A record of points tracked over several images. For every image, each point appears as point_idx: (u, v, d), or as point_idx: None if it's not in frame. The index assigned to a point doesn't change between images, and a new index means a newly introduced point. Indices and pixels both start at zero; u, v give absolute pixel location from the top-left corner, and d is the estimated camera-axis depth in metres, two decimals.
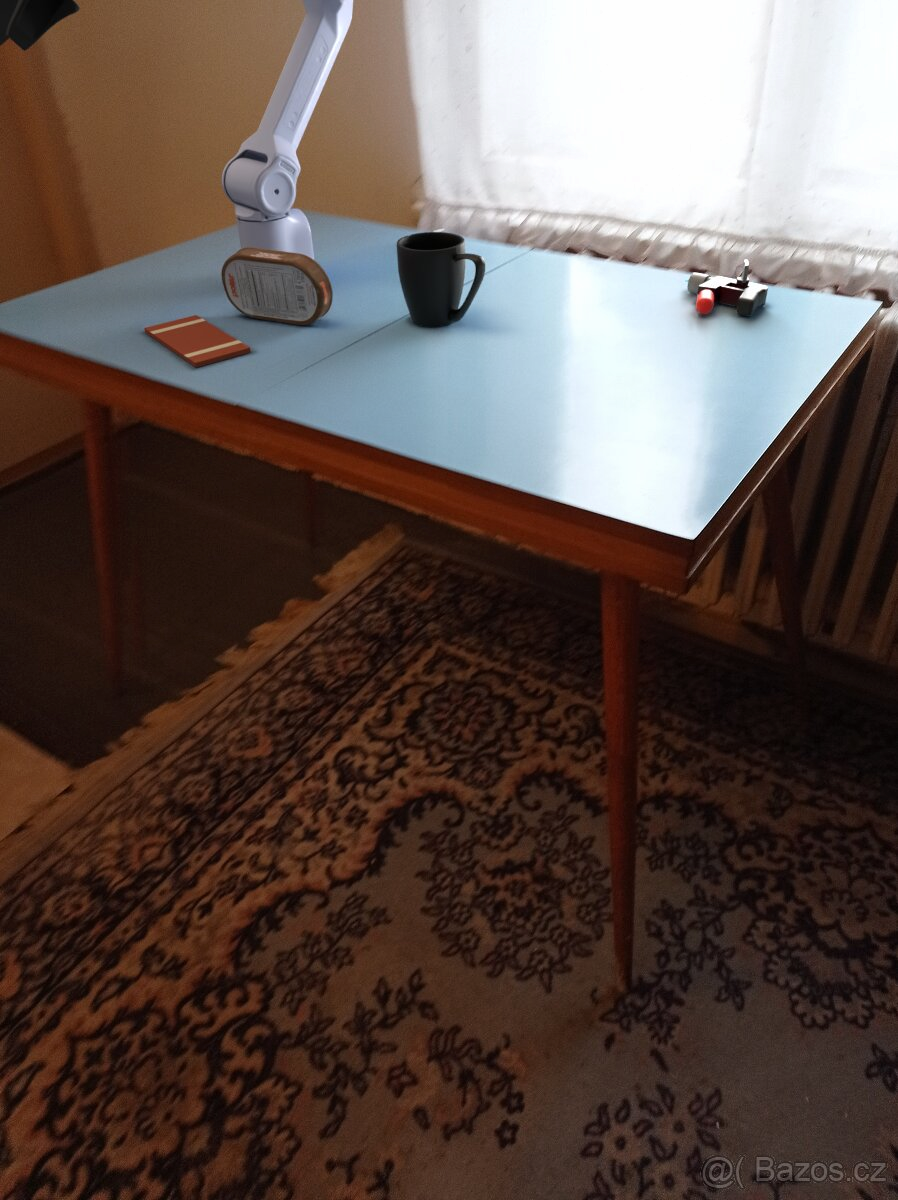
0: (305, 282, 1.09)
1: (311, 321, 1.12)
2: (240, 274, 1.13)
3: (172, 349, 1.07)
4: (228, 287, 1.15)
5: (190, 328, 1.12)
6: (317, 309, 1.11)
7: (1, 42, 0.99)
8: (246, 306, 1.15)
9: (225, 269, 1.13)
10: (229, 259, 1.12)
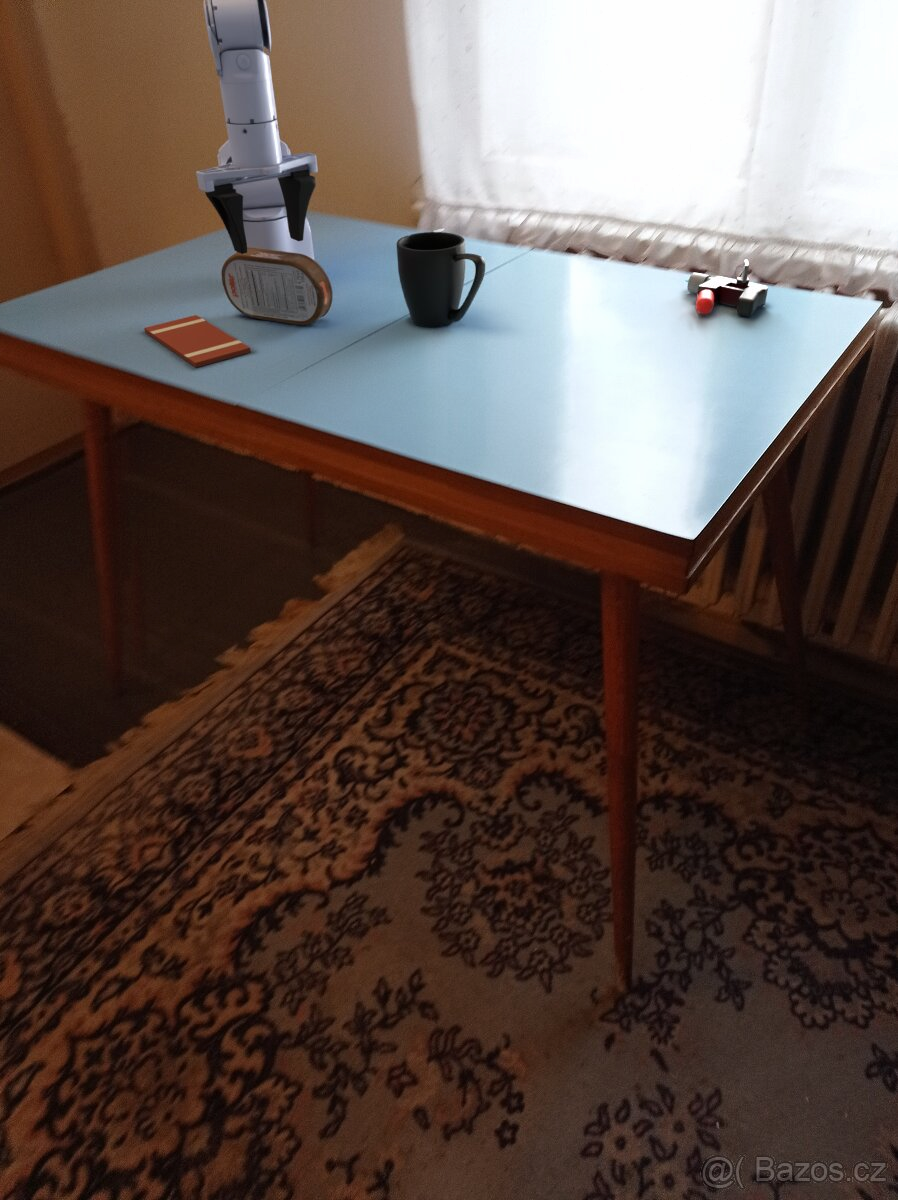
0: (305, 282, 1.09)
1: (311, 321, 1.12)
2: (240, 274, 1.12)
3: (172, 349, 1.07)
4: (228, 287, 1.15)
5: (190, 328, 1.12)
6: (317, 309, 1.11)
7: None
8: (246, 306, 1.15)
9: (225, 269, 1.13)
10: (229, 259, 1.12)
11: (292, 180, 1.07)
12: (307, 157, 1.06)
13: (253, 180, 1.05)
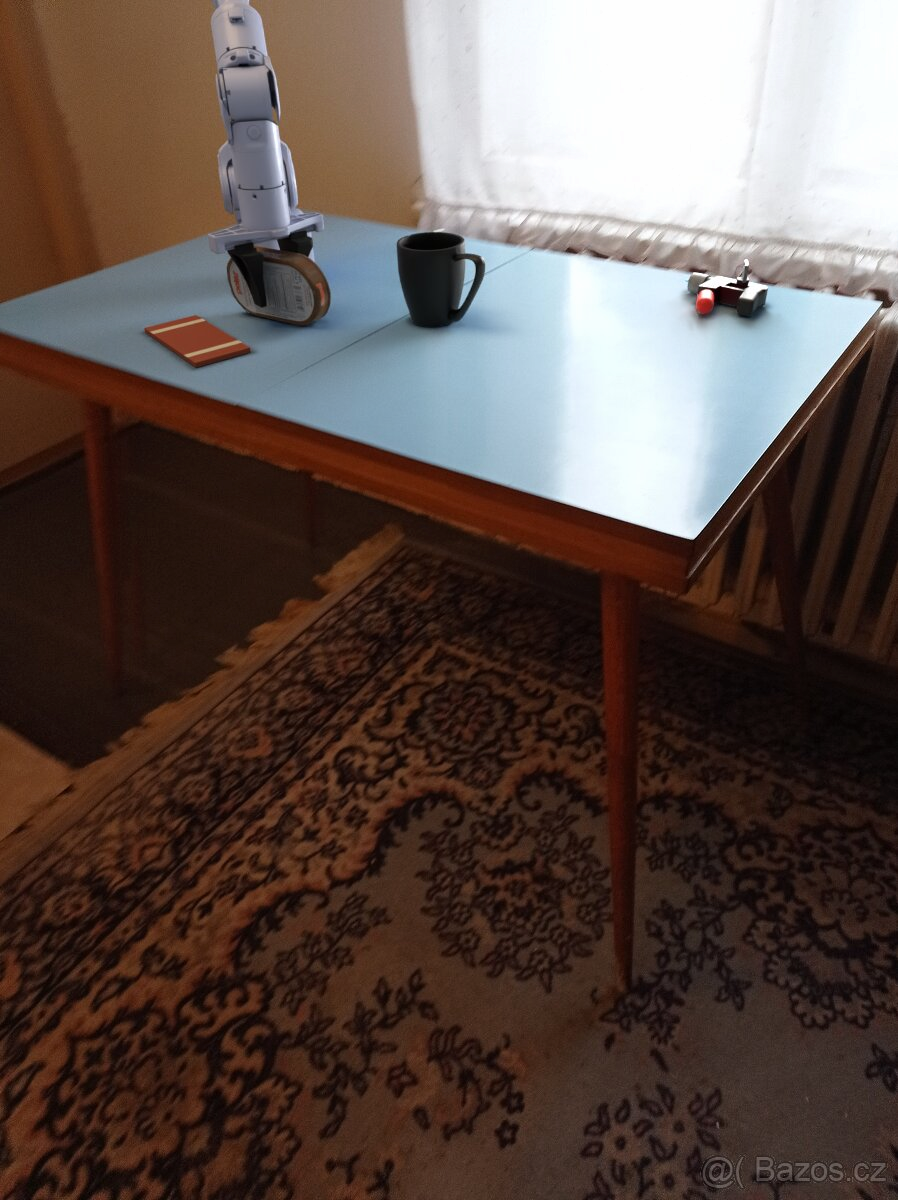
0: (302, 282, 1.09)
1: (308, 322, 1.12)
2: None
3: (172, 349, 1.07)
4: (233, 284, 1.15)
5: (190, 328, 1.12)
6: (313, 310, 1.11)
7: None
8: (249, 304, 1.16)
9: (230, 267, 1.14)
10: None
11: (290, 241, 1.10)
12: (314, 217, 1.11)
13: (262, 240, 1.09)
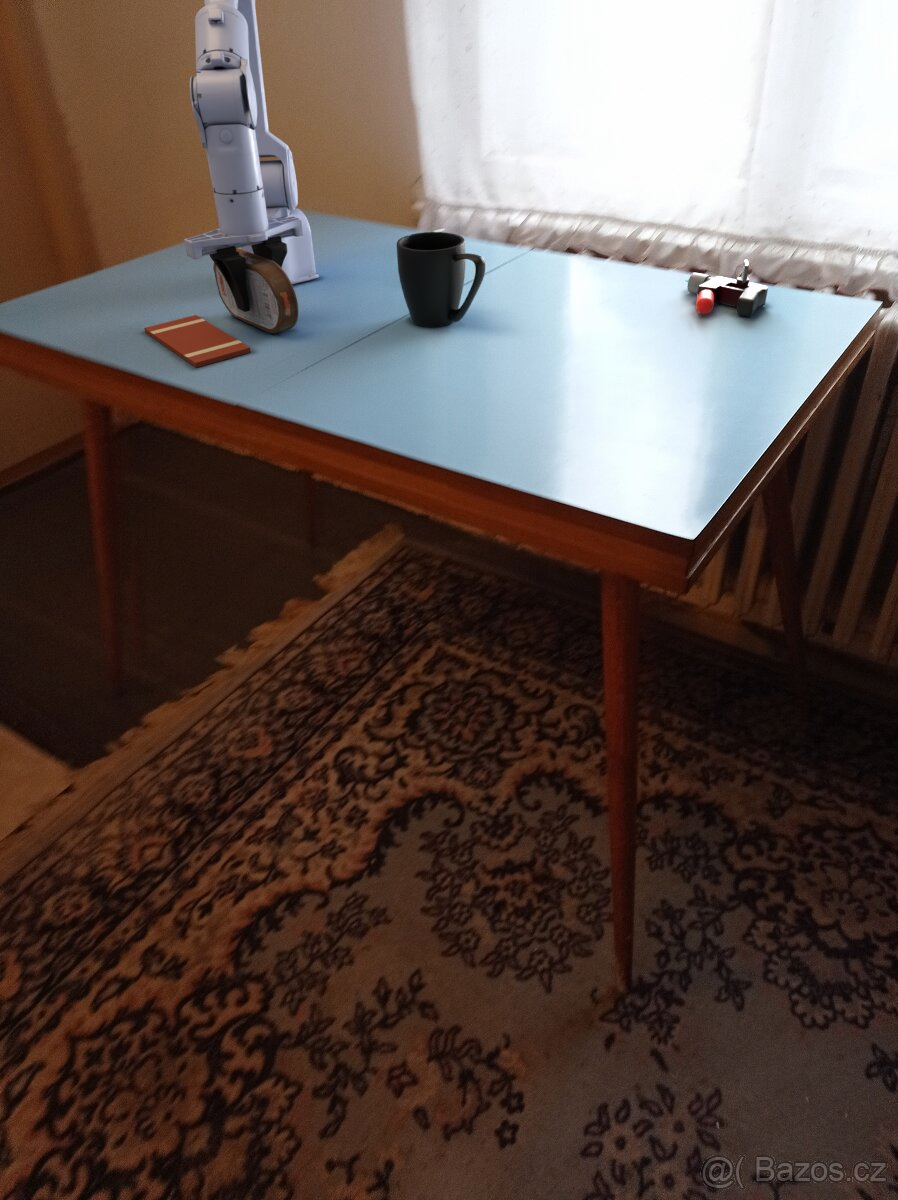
0: (268, 290, 1.07)
1: (275, 330, 1.10)
2: None
3: (172, 349, 1.07)
4: (219, 285, 1.15)
5: (190, 328, 1.12)
6: (278, 319, 1.08)
7: None
8: (232, 306, 1.15)
9: (215, 267, 1.14)
10: None
11: (264, 247, 1.09)
12: (293, 222, 1.09)
13: (240, 245, 1.07)
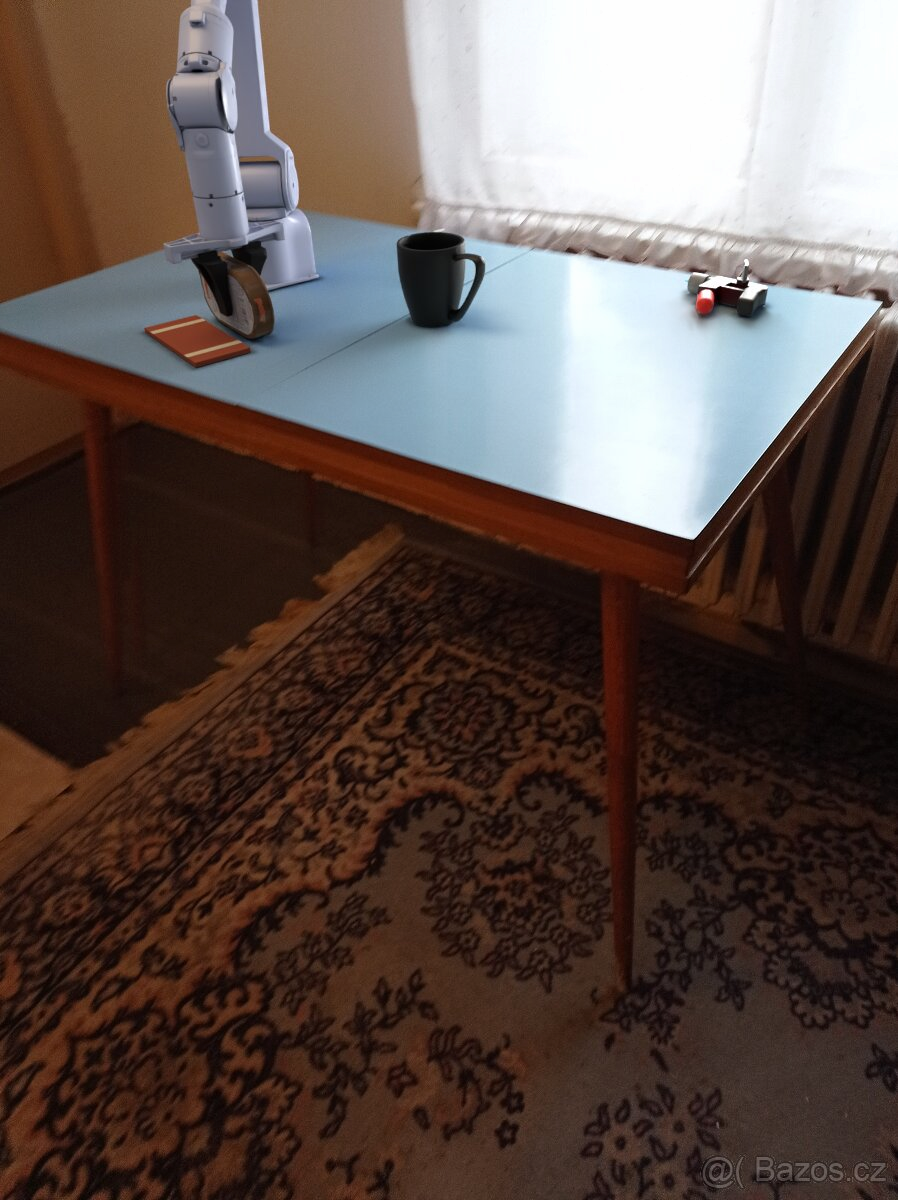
0: (244, 296, 1.06)
1: (252, 336, 1.09)
2: None
3: (172, 349, 1.07)
4: (204, 288, 1.14)
5: (190, 328, 1.12)
6: (253, 325, 1.07)
7: None
8: (216, 309, 1.14)
9: None
10: None
11: (243, 252, 1.07)
12: (274, 226, 1.08)
13: (220, 250, 1.06)
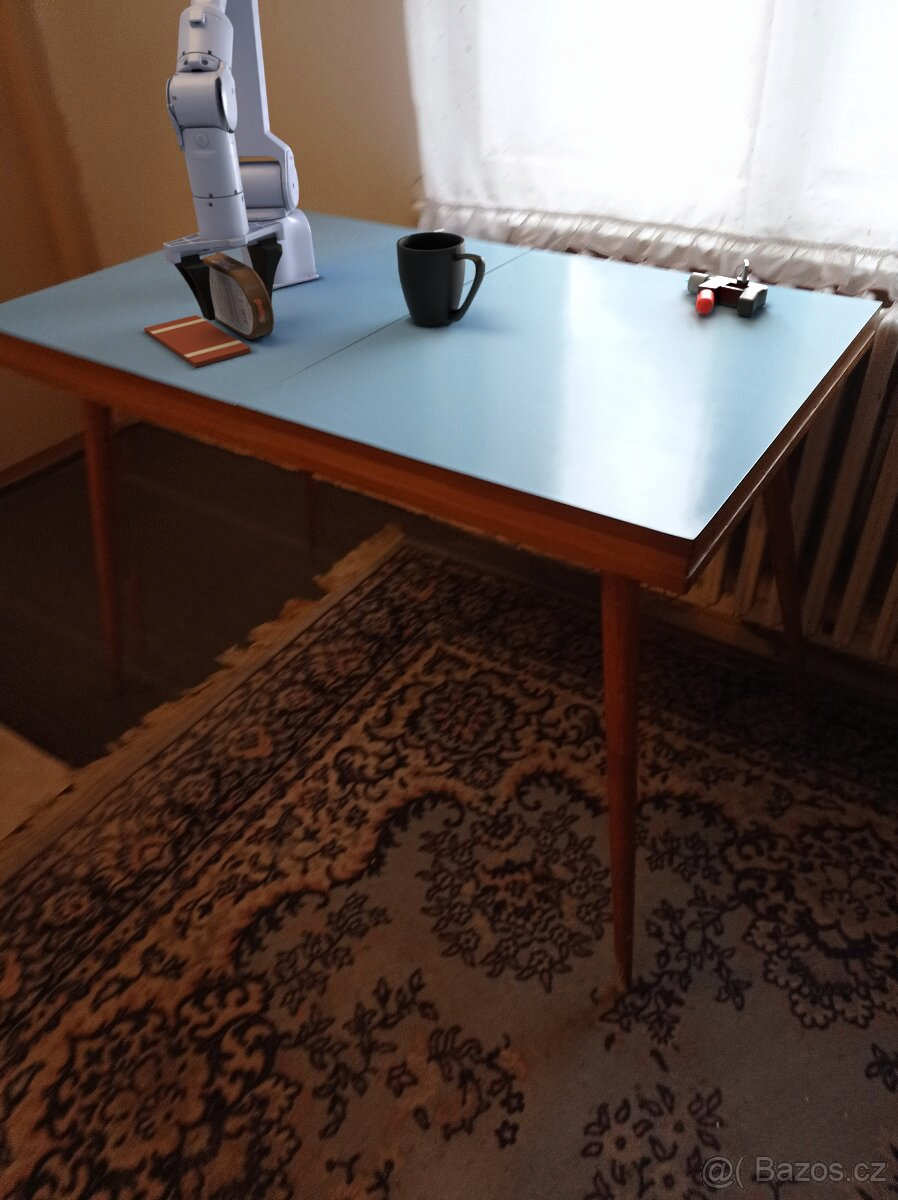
0: (243, 296, 1.06)
1: (251, 336, 1.09)
2: None
3: (172, 349, 1.07)
4: None
5: (190, 328, 1.12)
6: (253, 326, 1.07)
7: None
8: (215, 310, 1.14)
9: None
10: None
11: (259, 248, 1.08)
12: (274, 226, 1.08)
13: (220, 250, 1.06)
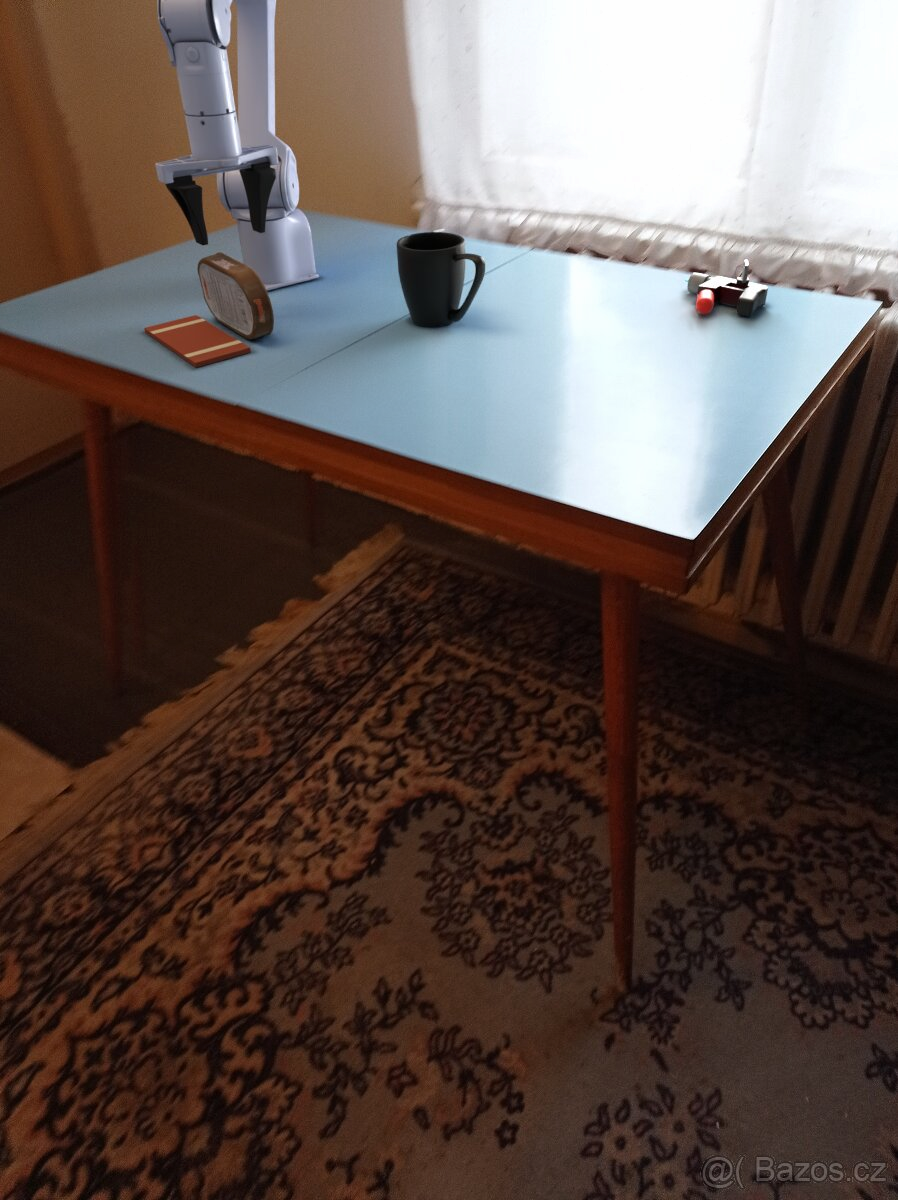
0: (243, 296, 1.06)
1: (251, 337, 1.09)
2: (208, 278, 1.12)
3: (172, 349, 1.07)
4: (203, 288, 1.14)
5: (190, 328, 1.12)
6: (253, 326, 1.07)
7: None
8: (215, 310, 1.14)
9: (199, 271, 1.13)
10: (199, 261, 1.11)
11: (252, 172, 1.08)
12: (267, 149, 1.07)
13: (213, 172, 1.05)
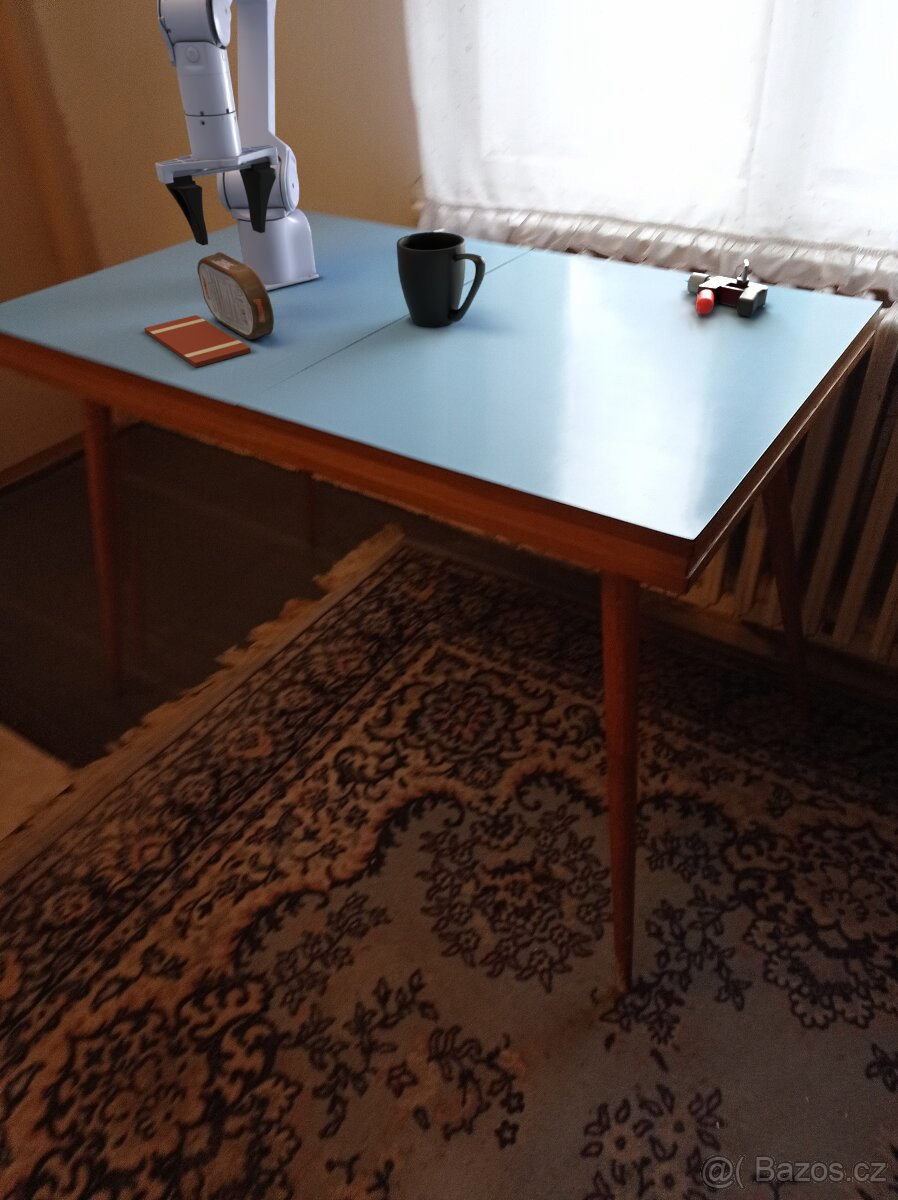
0: (243, 296, 1.06)
1: (251, 336, 1.09)
2: (208, 278, 1.12)
3: (172, 349, 1.07)
4: (203, 288, 1.14)
5: (190, 328, 1.12)
6: (253, 325, 1.07)
7: None
8: (215, 310, 1.14)
9: (199, 271, 1.13)
10: (199, 261, 1.11)
11: (252, 172, 1.08)
12: (267, 149, 1.07)
13: (213, 172, 1.05)
